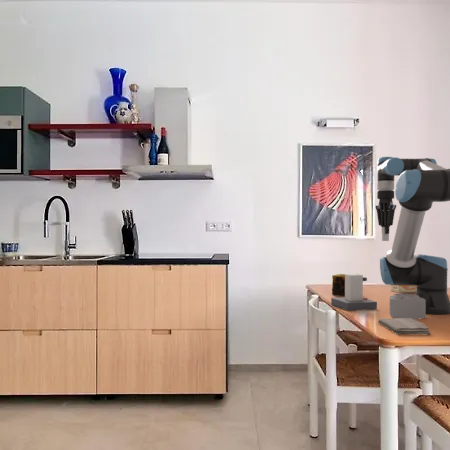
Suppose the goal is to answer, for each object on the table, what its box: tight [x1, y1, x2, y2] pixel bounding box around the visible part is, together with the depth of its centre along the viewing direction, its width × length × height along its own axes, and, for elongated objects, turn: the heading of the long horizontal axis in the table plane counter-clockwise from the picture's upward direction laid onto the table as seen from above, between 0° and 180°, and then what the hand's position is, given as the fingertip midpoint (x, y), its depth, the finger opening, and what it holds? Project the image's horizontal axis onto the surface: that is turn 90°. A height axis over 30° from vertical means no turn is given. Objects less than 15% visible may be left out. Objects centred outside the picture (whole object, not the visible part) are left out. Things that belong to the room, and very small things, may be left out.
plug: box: [344, 273, 368, 301], centre depth 198 cm, size 9×4×14 cm, turn 105°
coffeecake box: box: [390, 254, 417, 294], centre depth 244 cm, size 15×7×20 cm, turn 105°
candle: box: [331, 273, 345, 297], centre depth 232 cm, size 10×10×10 cm
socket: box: [330, 296, 378, 311], centre depth 197 cm, size 14×14×4 cm
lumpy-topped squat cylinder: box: [389, 292, 426, 320], centre depth 178 cm, size 10×13×9 cm
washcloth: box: [377, 317, 431, 335], centre depth 156 cm, size 12×18×3 cm, turn 2°
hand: (385, 240), depth 212 cm, fingers closed
